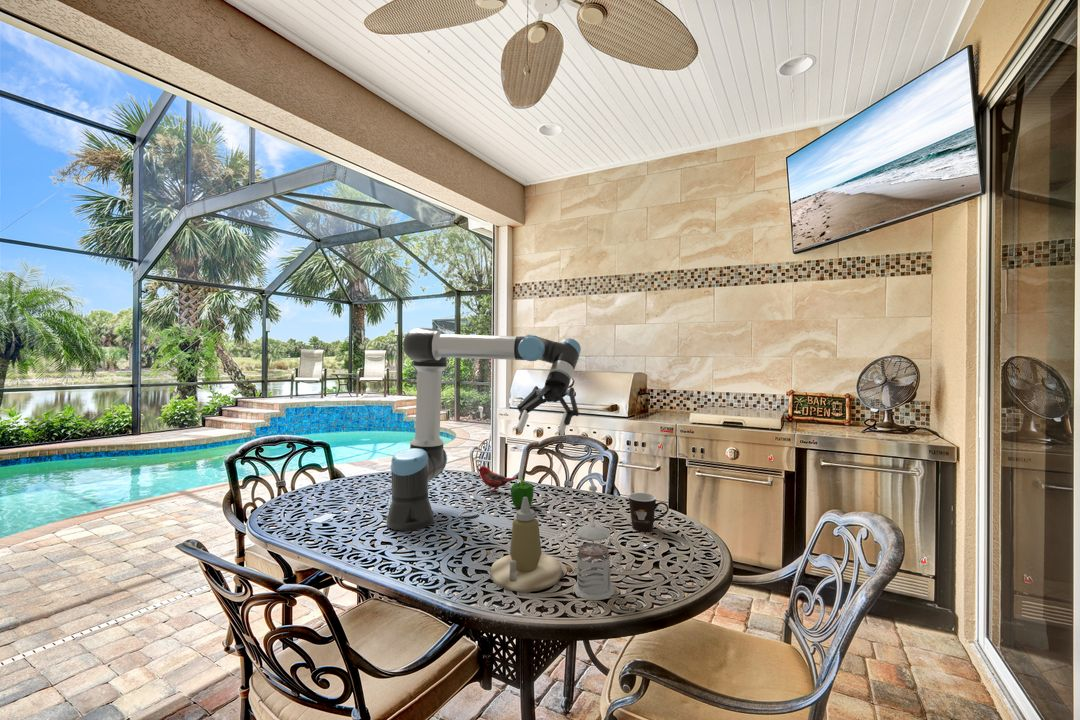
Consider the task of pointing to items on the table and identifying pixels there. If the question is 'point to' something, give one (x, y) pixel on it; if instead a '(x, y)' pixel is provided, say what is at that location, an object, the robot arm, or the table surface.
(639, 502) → the coffee mug
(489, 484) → the decorative bird figurine
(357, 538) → the table surface
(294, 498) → the table surface
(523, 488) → the bell pepper
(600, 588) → the french press
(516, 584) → the round beige plate
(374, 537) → the table surface
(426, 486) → the robot arm
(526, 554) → the squeeze bottle
